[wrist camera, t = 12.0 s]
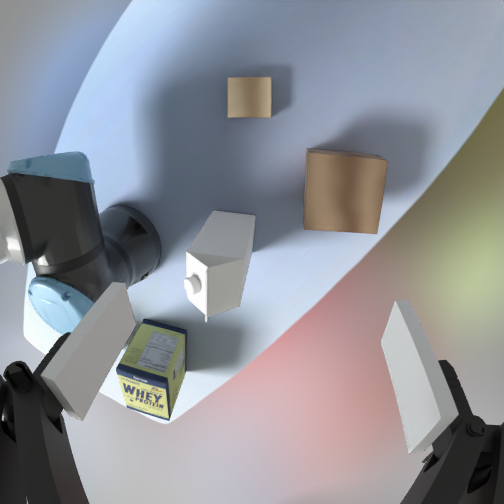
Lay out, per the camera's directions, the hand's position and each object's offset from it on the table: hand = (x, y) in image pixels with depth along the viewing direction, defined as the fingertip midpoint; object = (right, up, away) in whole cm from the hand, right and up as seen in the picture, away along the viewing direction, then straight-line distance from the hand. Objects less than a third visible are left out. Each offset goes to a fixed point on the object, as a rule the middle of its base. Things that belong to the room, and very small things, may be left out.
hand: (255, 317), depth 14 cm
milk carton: (-3, +6, +36) cm, 37 cm away
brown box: (+12, +12, +26) cm, 31 cm away
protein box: (-20, -19, +52) cm, 59 cm away
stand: (0, +26, +26) cm, 37 cm away
